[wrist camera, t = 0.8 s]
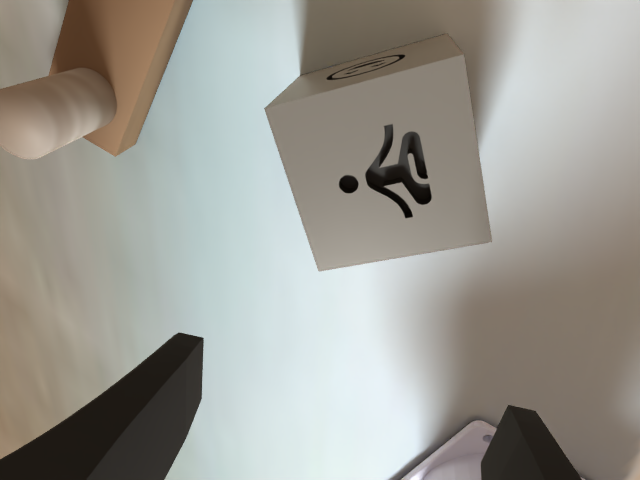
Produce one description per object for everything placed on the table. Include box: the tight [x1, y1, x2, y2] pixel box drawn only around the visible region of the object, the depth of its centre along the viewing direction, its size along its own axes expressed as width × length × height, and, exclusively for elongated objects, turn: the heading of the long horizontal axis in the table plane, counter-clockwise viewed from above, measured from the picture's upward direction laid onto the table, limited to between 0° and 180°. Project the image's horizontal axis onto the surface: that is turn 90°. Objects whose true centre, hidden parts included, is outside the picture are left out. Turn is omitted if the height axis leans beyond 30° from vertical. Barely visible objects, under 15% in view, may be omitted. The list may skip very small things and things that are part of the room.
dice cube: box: [264, 34, 492, 271], centre depth 15 cm, size 5×5×5 cm
